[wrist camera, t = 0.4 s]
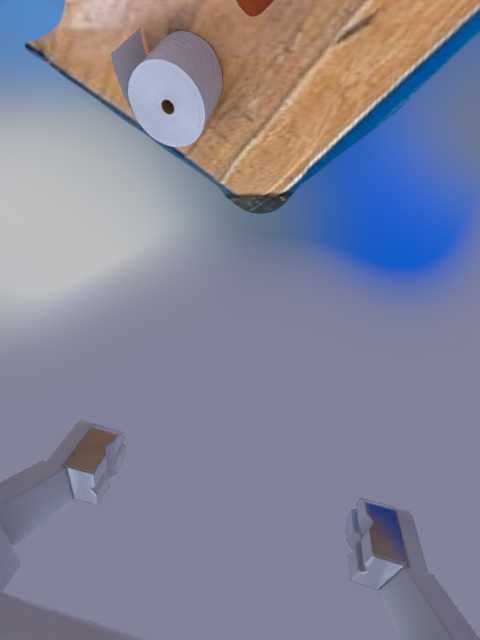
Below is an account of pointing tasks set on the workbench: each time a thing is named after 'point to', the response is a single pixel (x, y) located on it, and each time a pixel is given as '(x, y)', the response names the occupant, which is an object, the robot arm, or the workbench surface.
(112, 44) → the workbench surface
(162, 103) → the toilet tissue
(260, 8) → the toy drill
